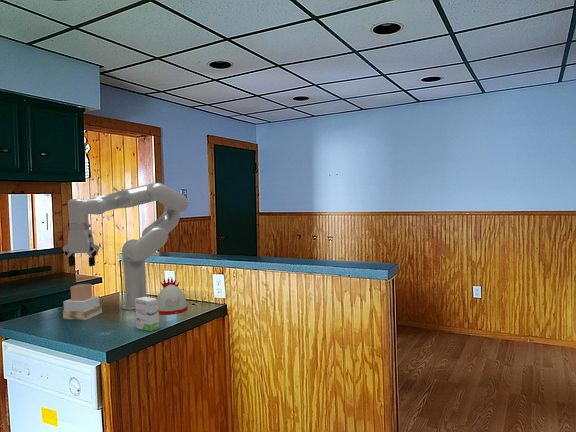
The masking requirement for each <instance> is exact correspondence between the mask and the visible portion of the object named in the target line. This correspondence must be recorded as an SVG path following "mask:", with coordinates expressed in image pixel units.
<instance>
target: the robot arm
mask: <svg viewBox="0 0 576 432" xmlns="http://www.w3.org/2000/svg"><path fill="white" fill-rule="evenodd" d="M152 202H158V203H160V204H161V205H163V206H164V210H163V213H162V214H161V215H160V216H159V217H158V218H157V219H156V220H154V221H153V222H151V224H149V225H148V226H146V227H145V228H144V229H143V231H142V233H141V237H139V238H138V239H128V240H127V241H126V242H125V243H124V244H123V245H122V248H121V256H122V262H123V276H124V277H123V278H124V299H125V302H124V303H123V304H122V305H121V308H122V309H123V310H128V311H130V310H131V311H133V310H135V311H136V306H135V299H136V298H141V297H150V296H149V295H148V294H147V273H146V272H147V271H146V268H147V267H146V262H145V261H146V260H147V259H149V258H150V257H151V256H153V255H154V254H155V253H156V252H158V251H159V250H160V249H161V248H163V247H164V245H165V244H166V243H167V241H168V239H169V233H170V232H171V231H172V230H173V229H175V228H176V226H178V224H179V221H180V218H181V213H183V212H185V211H186V210H187V209H188V207H189V201H188V199H187V197H186V196H185V195H184V194H182V193H180V192H178V191H176V190H174V189H173V188H171V187H169V186H167V185H165V184H163V183H161V182H153V183H147V184H143V185H139V186H136V187H135V186H134V187H131V188H127V189H126V188H125V189H121V190H119V191H115V192H113V193H112V192H111V193H108V194H103V195H99V196H94V197H91V198H86V199H85V198H72V199H71V198H70V199H69V200H67V208H68V209H67V210H68V223H69V230H68V235H67V244H66V245H64V246H63V247H62V251H63V252H64V255H66V258H68V267H69V268H70V267H74V266H76V258H75V255H76V254H86V255H88V266H89V267H94V266H96V256H97V254H98V253H99V250H100V248H101V247H100V246H99V245H97V244H96V243H95V241H94V237H93V232H92V229H90V228H91V227H92V225H91V224H90V223H89V215H98V216H99V215H103V214H104V213H106V212H108V211H112V210H117V209H118V210H119V209H127V208H132V207H138V206H140V205H145V204H149V203H152Z"/></svg>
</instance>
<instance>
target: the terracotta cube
mask: <svg viewBox="0 0 576 432" xmlns="http://www.w3.org/2000/svg"><path fill="white" fill-rule="evenodd" d="M92 296H93V285H92V283H78V284H75V285H72V286H70V299H71V301H85V300H87V299H89V298H92Z"/></svg>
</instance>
